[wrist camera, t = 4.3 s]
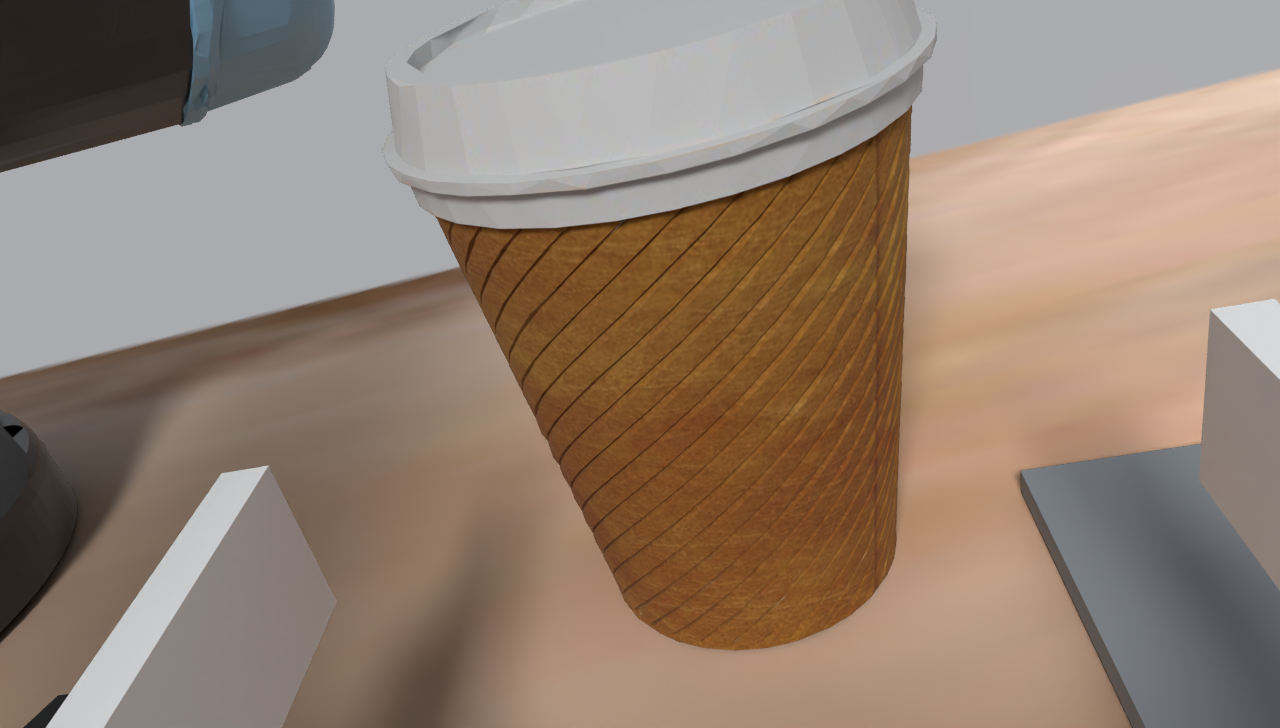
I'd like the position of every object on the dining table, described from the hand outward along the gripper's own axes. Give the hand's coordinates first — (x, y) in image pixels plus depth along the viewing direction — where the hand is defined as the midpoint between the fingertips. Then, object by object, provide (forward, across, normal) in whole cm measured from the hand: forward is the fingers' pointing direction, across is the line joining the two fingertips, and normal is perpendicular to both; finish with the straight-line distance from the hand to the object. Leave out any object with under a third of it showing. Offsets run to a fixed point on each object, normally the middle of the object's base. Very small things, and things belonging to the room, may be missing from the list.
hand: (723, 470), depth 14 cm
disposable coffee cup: (+6, 0, -7) cm, 9 cm away
